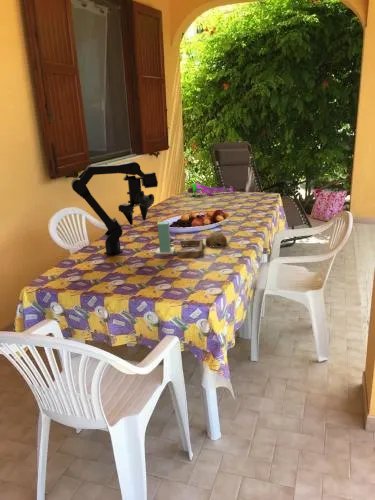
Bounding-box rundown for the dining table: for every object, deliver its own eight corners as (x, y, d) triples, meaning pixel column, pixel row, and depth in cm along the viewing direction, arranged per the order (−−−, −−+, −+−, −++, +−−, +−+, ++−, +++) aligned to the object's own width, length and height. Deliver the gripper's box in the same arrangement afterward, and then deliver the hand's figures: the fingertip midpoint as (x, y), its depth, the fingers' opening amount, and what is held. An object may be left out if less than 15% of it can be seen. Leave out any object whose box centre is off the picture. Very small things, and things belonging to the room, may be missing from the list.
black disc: (179, 256, 192) (179, 255, 191) (170, 255, 194) (170, 254, 194) (186, 253, 195) (186, 252, 195) (177, 251, 198) (177, 251, 198)
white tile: (155, 254, 196) (155, 253, 196) (157, 248, 204) (157, 247, 204) (173, 253, 195) (173, 252, 195) (174, 248, 203) (174, 247, 203)
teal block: (159, 251, 197) (157, 224, 193) (161, 248, 202) (159, 221, 198) (169, 251, 197) (167, 224, 193) (170, 248, 201) (168, 221, 197)
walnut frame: (177, 257, 191) (177, 251, 190) (180, 245, 207) (180, 240, 207) (201, 256, 190) (201, 251, 189) (203, 244, 206) (202, 239, 206)
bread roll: (208, 255, 203) (210, 242, 197) (202, 240, 210) (203, 228, 205) (228, 252, 205) (230, 239, 200) (221, 238, 212) (223, 225, 207)
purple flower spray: (186, 201, 323) (230, 200, 331) (190, 193, 308) (237, 193, 315) (184, 185, 326) (228, 185, 334) (189, 177, 310) (235, 177, 318)
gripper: (135, 194, 184) (138, 229, 189) (161, 186, 199) (163, 219, 204) (115, 192, 190) (119, 226, 195) (142, 185, 205) (145, 217, 210)
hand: (138, 222), depth 201 cm, fingers open, 9 cm apart
